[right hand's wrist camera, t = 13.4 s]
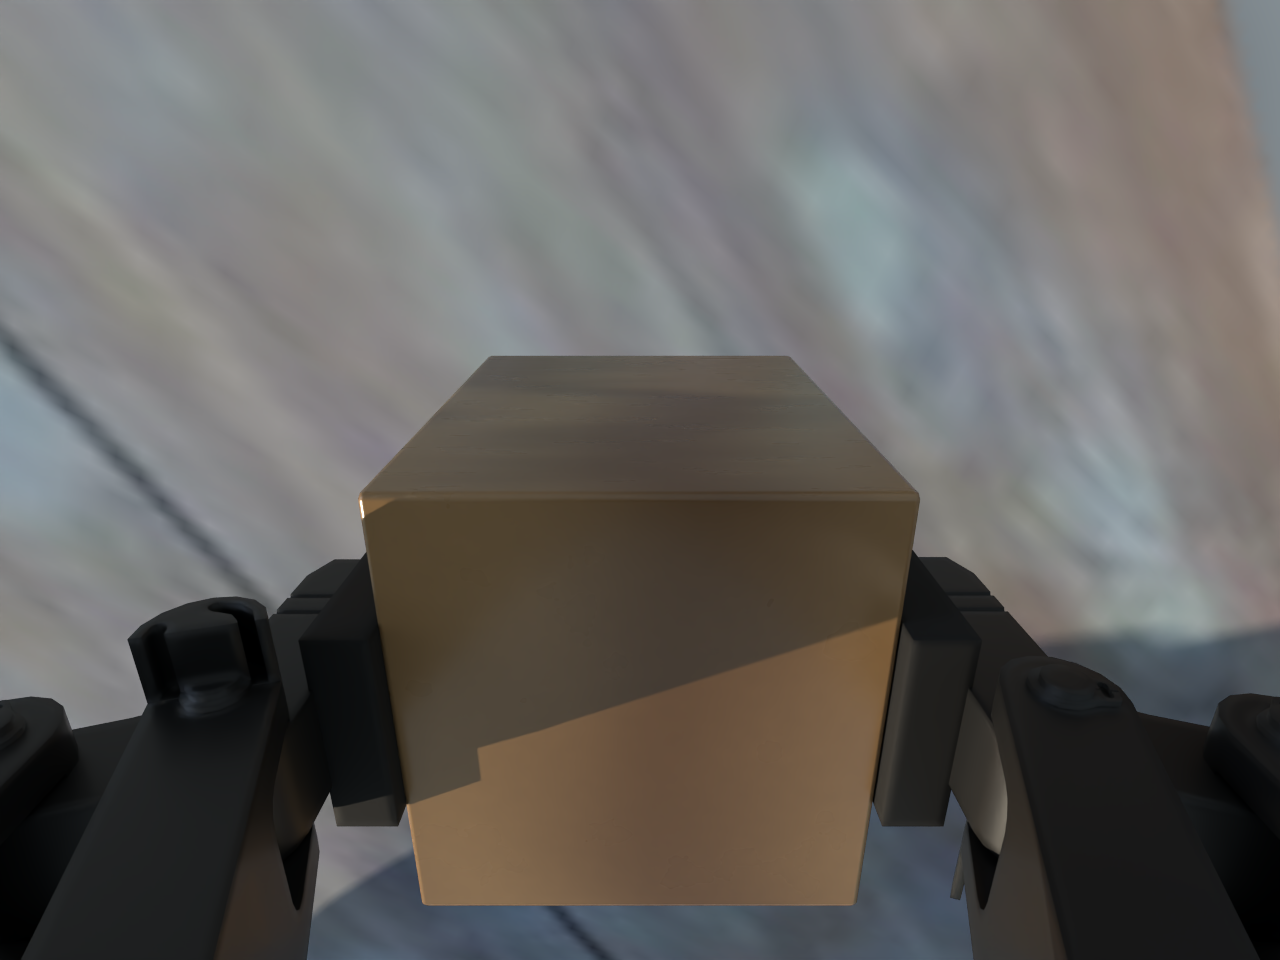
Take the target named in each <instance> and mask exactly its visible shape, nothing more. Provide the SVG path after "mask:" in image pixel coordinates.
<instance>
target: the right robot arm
mask: <svg viewBox="0 0 1280 960" xmlns="http://www.w3.org/2000/svg"><path fill="white" fill-rule="evenodd" d="M128 643H129V646H130V649H131V652H132V655H133V658H134V662H135V665H136V668H137V671H138V674H139V678H140V681H141V684H142V687H143V690H144V694H145V697H146V700H147V703H148V704H147V706H146V708H145V710H144V712H143V714H142V715H141V716H137V717H134V718H129V719H124V720H119V721H114V722H109V723H104V724H99V725H94V726H89V727H84V728H79V729H74V730H72V729H71V726H70V723H69V721H68V718H67V715H66V713H65V710H64V707H63V706H62V705H60V704H59V703H58V702H56V701H55V700H53V699H51V698H40V697H25V698H18V699H11V700H2V701H0V960H307V952H308V943H309V935H310V927H311V919H312V910H313V902H314V894H315V885H316V877H317V869H318V861H319V845H318V839H317V834H316V829H315V825H314V821H315V819H316V817H317V815H318V813H319V811H320V810H321V808H322V806H323V804H324V802H325V800H326V798H327V796H328V794H329V792H330V795H331V800H332V805H333V809H334V814H335V819H336V824H337V826H398V825H399V823H400V820H401V817H402V815H403V812H404V810H405V807H406V804H407V803H406V797H405V791H404V784H403V778H402V772H401V766H400V759H399V753H398V747H397V740H396V734H395V728H394V721H393V715H392V709H391V703H390V696H389V690H388V684H387V677H386V671H385V665H384V658H383V652H382V646H381V639H380V633H379V627H378V621H377V614H376V608H375V602H374V595H373V589H372V583H371V576H370V570H369V564H368V558H367V552H366V553H365V554H364V556H363V557H362V558H361V559H334V560H333V561H331V562H329V563H328V564H326V565H324V566H323V567H321V568H319V569H318V570H316V571H314V572H312V573H311V574H309V575H307V576H306V578H305V579H304V580H303V581H302V582H301V583H300V584H299V586H298V587H297V588H296V589H295V590H294V591H293V592H292V593H291V598H287V599H286V600H285V601H284V603H283V604H282V605H281V606H280V607H279V608H278V609H277V614H273V615H272V616H271V617H270V618H269V620H268V615H267V611H266V607H265V606H263V605H262V604H260V603H259V602H257V601H256V600H253V599H248V598H242V597H219V598H210V599H206V600H201V601H196V602H192V603H187V604H185V605H182V606H179V607H177V608H174V609H171V610H169V611H166V612H164V613H161V614H160V615H158V616H156V617H155V618H153V619H151V620H149V621H148V622H146V623H144V624H143V625H141V626H140V627H139V628H138V629H137V630H136V631H135V632H134V633H133V634H132V635H131V636H130V637H129V638H128ZM951 790H952V792H953V793H954V795H955V797H956V799H957V801H958V803H959V805H960V807H961V809H962V811H963V813H964V814H965V816H966V818H967V820H966V825H965V829H964V834H963V838H962V843H961V847H960V852H959V856H958V860H957V865H956V869H955V874H954V878H953V883H952V889H951V896H950V898H954V899H958V900H960V898H961V894H962V890H963V886H964V884H965V892H966V900H967V908H968V917H969V925H970V933H971V941H972V950H973V958H974V960H1280V697H1272V696H1265V695H1258V694H1251V693H1250V694H1240V695H1230V696H1229V697H1227V698H1226V699H1224V700H1223V701H1221V702H1220V703H1219V704H1218V706H1217V709H1216V712H1215V714H1214V717H1213V720H1212V723H1211V725H1210V727H1208V726H1203V725H1198V724H1193V723H1188V722H1183V721H1178V720H1173V719H1168V718H1163V717H1158V716H1152V715H1148V714H1144V713H1140V712H1137V711H1136V709H1135V707H1134V705H1133V703H1132V702H1131V700H1130V699H1129V698H1128V697H1127V695H1126V694H1125V693H1124V692H1123V691H1122V689H1121V688H1120V687H1118V686H1117V685H1116V684H1114V683H1113V682H1111V681H1110V680H1108V679H1107V678H1105V677H1104V676H1103V675H1101V674H1099V673H1097V672H1095V671H1092V670H1090V669H1088V668H1086V667H1083V666H1081V665H1079V664H1077V663H1073V662H1069V661H1065V660H1061V659H1057V658H1053V657H1048V656H1047V655H1046V654H1045V653H1044V652H1043V651H1042V650H1041V648H1040V647H1039V646H1038V645H1037V644H1036V643H1035V642H1034V641H1033V639H1032V638H1031V637H1030V636H1029V635H1028V634H1027V633H1026V632H1025V630H1024V629H1023V628H1022V627H1021V626H1020V625H1019V624H1018V623H1017V621H1016V620H1015V619H1014V618H1013V617H1012V616H1011V615H1010V614H1009V612H1005V611H1004V607H1003V606H1002V605H1001V603H1000V602H999V601H998V600H997V599H996V598H995V597H994V596H991V595H990V591H989V590H988V589H987V588H986V586H985V585H984V584H983V583H982V582H981V581H980V580H979V579H978V577H977V576H976V575H975V574H974V573H973V572H971V571H969V570H967V569H966V568H964V567H962V566H961V565H959V564H957V563H955V562H954V561H952V560H950V559H949V558H947V557H918V556H917V555H916V554H915V553H914V551H913V550H912V554H911V560H910V566H909V573H908V579H907V585H906V592H905V598H904V604H903V611H902V617H901V623H900V630H899V636H898V642H897V649H896V655H895V661H894V668H893V674H892V680H891V687H890V693H889V699H888V706H887V712H886V719H885V725H884V731H883V738H882V744H881V750H880V757H879V763H878V769H877V776H876V782H875V788H874V795H873V803H874V806H875V808H876V811H877V814H878V816H879V819H880V821H881V824H882V826H944V821H945V816H946V812H947V807H948V802H949V797H950V793H951Z"/></svg>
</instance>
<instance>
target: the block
mask: <svg viewBox="0 0 1280 960" xmlns="http://www.w3.org/2000/svg"><path fill="white" fill-rule="evenodd" d="M358 501H359V507H360V513H361V520H362V526H363V532H364V539H365V545H366V551H367V558H368V564H369V570H370V576H371V583H372V589H373V595H374V602H375V608H376V614H377V621H378V627H379V633H380V639H381V646H382V652H383V658H384V665H385V671H386V677H387V684H388V690H389V696H390V703H391V709H392V715H393V721H394V728H395V734H396V740H397V747H398V753H399V759H400V766H401V772H402V778H403V784H404V791H405V797H406V803H407V810H408V816H409V822H410V829H411V835H412V841H413V847H414V854H415V860H416V866H417V873H418V879H419V885H420V892H421V898H422V903H423V904H425V905H427V906H851V905H854V904H855V903H856V902H857V896H858V890H859V883H860V877H861V871H862V864H863V858H864V852H865V845H866V839H867V833H868V826H869V820H870V814H871V807H872V801H873V795H874V788H875V782H876V776H877V769H878V763H879V757H880V750H881V744H882V738H883V731H884V725H885V719H886V712H887V706H888V699H889V693H890V687H891V680H892V674H893V668H894V661H895V655H896V649H897V642H898V636H899V630H900V623H901V617H902V611H903V604H904V598H905V592H906V585H907V579H908V573H909V566H910V560H911V554H912V547H913V541H914V535H915V528H916V522H917V516H918V509H919V503H920V497H919V493H918V492H917V491H916V490H915V489H914V488H913V487H912V486H911V485H910V484H909V482H908V481H907V480H906V479H905V478H904V477H903V476H902V475H901V474H900V473H899V472H898V471H897V470H896V469H895V468H894V467H893V466H892V464H891V463H890V462H889V461H888V460H887V459H886V458H885V457H884V456H883V455H882V454H881V453H880V452H879V451H878V450H877V449H876V448H875V446H874V445H873V444H872V443H871V442H870V441H869V440H868V439H867V438H866V437H865V436H864V435H863V434H862V433H861V432H860V431H859V430H858V428H857V427H856V426H855V425H854V424H853V423H852V422H851V421H850V420H849V419H848V418H847V417H846V416H845V415H844V414H843V413H842V411H841V410H840V409H839V408H838V407H837V406H836V405H835V404H834V403H833V402H832V401H831V400H830V399H829V398H828V397H827V396H826V395H825V393H824V392H823V391H822V390H821V389H820V388H819V387H818V386H817V385H816V384H815V383H814V382H813V381H812V380H811V379H810V378H809V377H808V375H807V374H806V373H805V372H804V371H803V370H802V369H801V368H800V367H799V366H798V365H797V364H796V363H795V362H794V361H793V360H792V359H791V357H788V356H491V357H489V358H488V359H487V360H486V361H485V362H484V363H483V364H482V365H481V366H480V367H479V368H478V369H477V370H476V371H475V372H474V373H473V374H472V375H471V377H470V378H469V379H468V380H467V381H466V382H465V383H464V384H463V385H462V386H461V387H460V388H459V389H458V390H457V391H456V392H455V393H454V394H453V395H452V397H451V398H450V399H449V400H448V401H447V402H446V403H445V404H444V405H443V406H442V407H441V408H440V409H439V410H438V411H437V412H436V413H435V414H434V415H433V417H432V418H431V419H430V420H429V421H428V422H427V423H426V424H425V425H424V426H423V427H422V428H421V429H420V430H419V431H418V432H417V433H416V434H415V436H414V437H413V438H412V439H411V440H410V441H409V442H408V443H407V444H406V445H405V446H404V447H403V448H402V449H401V450H400V451H399V452H398V453H397V454H396V456H395V457H394V458H393V459H392V460H391V461H390V462H389V463H388V464H387V465H386V466H385V467H384V468H383V469H382V470H381V471H380V472H379V473H378V474H377V476H376V477H375V478H374V479H373V480H372V481H371V482H370V483H369V484H368V485H367V486H366V487H365V488H364V489H363V490H362V491H361V492H360V494H359V498H358Z"/></svg>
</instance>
